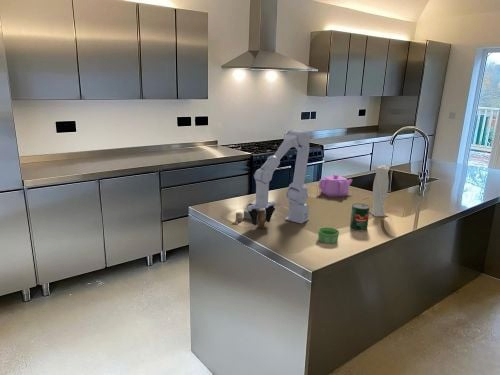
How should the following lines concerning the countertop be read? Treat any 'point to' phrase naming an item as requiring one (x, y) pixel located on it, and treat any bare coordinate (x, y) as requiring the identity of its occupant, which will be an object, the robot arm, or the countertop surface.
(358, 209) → the canned tomato
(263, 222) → the walnut peg
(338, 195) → the teakettle
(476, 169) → the countertop surface
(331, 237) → the ramekin
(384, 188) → the skyscraper
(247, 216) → the hole block
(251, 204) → the tube
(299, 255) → the countertop surface
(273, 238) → the countertop surface
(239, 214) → the birch peg
